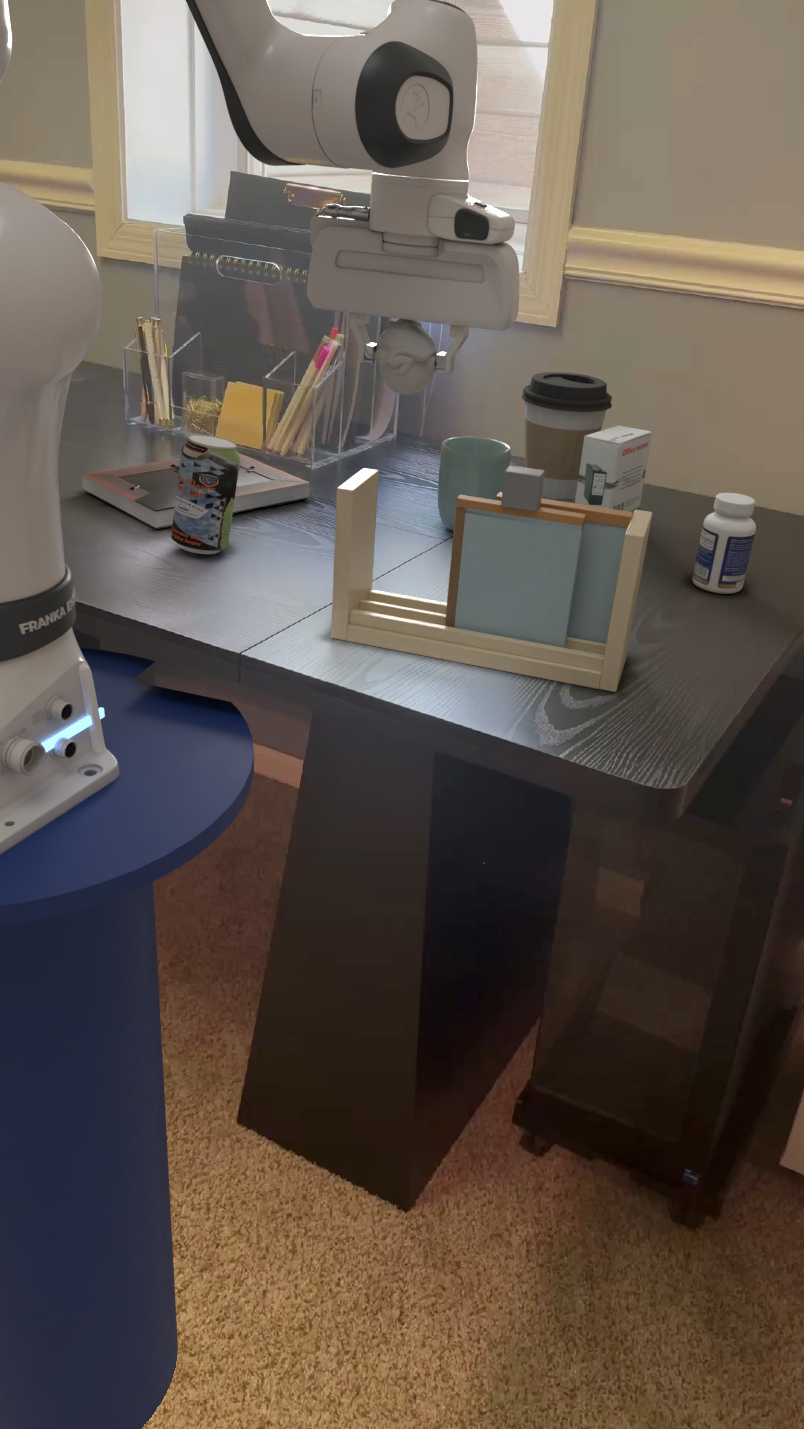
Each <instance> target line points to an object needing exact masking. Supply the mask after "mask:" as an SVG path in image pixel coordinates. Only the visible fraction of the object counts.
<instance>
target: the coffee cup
mask: <svg viewBox="0 0 804 1429" xmlns="http://www.w3.org/2000/svg"><path fill="white" fill-rule="evenodd" d="M607 385H608V383H606V382H605V380H603V379H600V378H598V377H595V376H592V375H591V376H590V375H586V374H582V373H581V374H580V373H575V372H574V373H573V372H563V371H562V372H561V371H545V372H537V373H535V374H533V375H532V376H531V380H530V383H529V384H528V385H526V386H524V387H523V389H522V395H521V396H520V397H521V399H522V400H523V401H524V467H525V468H532V469H539V470H544V471H545V475H544V482H543V490H542V498H543V499H550V500H556V501H563V502H569V503H575V498H576V491H577V485H578V477H579V471H580V464H581V457H582V450H583V443H584V436H586V435H589V434H592V433H595V432H599V431H602V428H603V424H604V421H605V417H606V414H607V413H606V412H607V411H608V410H610V409H611V408H612V406H613V404H612V400H613V396H612V395H611V394H610V393H609V392H607V388H608V386H607Z"/></svg>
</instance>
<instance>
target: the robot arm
mask: <svg viewBox="0 0 804 1429" xmlns="http://www.w3.org/2000/svg"><path fill="white" fill-rule="evenodd" d="M185 2H186V5H187V6H188V10H189V11H190V13H191V15H192V18H193V20H194V22H195V24H196V27H197V29H198V31H199V33H200V36H201V38H202V40H203V42H204V45H205V47H206V49H207V51H208V54H209V56H210V58H211V61H212V62H213V65H214V68H215V71H216V73H217V76H218V79H219V83H220V85H221V90H222V93H223V97H224V102H225V105H226V110H227V114H228V117H229V119H230V122H231V126H232V128H233V130H234V132H235V134H236V136H237V138H238V140H239V141H240V143H241V145H242V146H243V147H244V149H245V150H246V151H247V153H248V154H250V155H251V156H252V157H253V159H255V160H257V161H258V162H259V163H262V164H263V165H267V166H271V167H283V166H284V167H285V166H286V167H287V166H289V167H290V166H307V165H308V166H316V167H326V168H334V169H335V168H336V169H345V170H347V169H354V170H365V171H371V181H370V198H369V199H370V200H369V207H368V206H356V205H353V206H352V205H351V206H350V205H349V206H346V205H341V204H337V203H329V204H326V205H325V207H322V208H320V209H318V210H317V211H315V213H314V214H313V216H312V218H311V219H310V225H309V242H310V247H311V248H312V250H311V255H310V260H309V267H308V274H307V283H306V298H307V300H308V301H309V303H310V304H311V306H312V308H314V309H316V310H324V311H332V312H341V313H349V320H348V321H349V322H348V325H349V327H350V329H351V332H352V334H353V336H354V338H355V340H356V343H357V345H358V346H359V347H358V362H359V364H365V365H366V364H367V365H375V364H377V363H378V361H377V360H376V357H375V355H376V343H377V342H372V340H371V338H370V335H369V333H368V331H367V328H366V325H368V324H369V323H370V322H371V321H370V320H371V316H374V317H381V318H382V317H383V318H391V319H406V320H414V321H418V322H421V323H422V322H424V323H431V324H439V325H447V326H448V325H449V337H450V338H452V339H453V338H454V340H453V341H452V343H451V344H450V345H449V347H448V349H447V351H440V352H439V353H438V352H437V354H436V363H437V365H436V366H435V372H434V373H436V374H441V375H449V376H450V375H452V374H454V371H455V362H456V355H457V354H458V352H459V351H460V349H461V348H462V347H463V345H464V344H465V342H466V341H467V339H468V338H469V335H470V328H471V329H479V330H480V329H481V330H490V331H497V332H503V331H505V330H508V329H509V328H510V327H511V326H512V325H513V324H514V323H515V322H516V320H517V319H518V314H519V303H520V263H519V259H518V254H517V253H516V251H515V249H514V247H513V246H512V245H510V244H509V243H508V242H509V241H510V240H511V239H513V237H514V233H515V227H516V221H515V218H513V216H511V215H510V214H508V213H506V212H504V211H502V210H500V209H499V208H495V207H494V206H491V205H489V204H487V203H485V202H483V201H481V200H478V199H477V198H474V197H472V196H470V194H469V187H470V186H469V185H470V169H469V163H468V150H469V144H470V140H471V137H472V134H473V131H474V128H475V120H476V110H477V96H478V72H479V71H478V69H479V68H478V67H479V66H478V63H479V62H478V60H479V59H478V43H477V42H478V41H477V33H476V28H475V26H476V25H475V22H474V19H473V18H472V17H471V16H470V15H469V14H468V13H467V12H466V11H465V10H464V9H462V8H460V7H459V6H457V5H455V4H452V3H450V2H448V1H445V0H444V1H441V0H394V1H392V2H391V3H390V5H389V7H388V11H387V13H386V14H387V15H386V17H385V18H384V19H383V20H382V21H380V22H379V23H378V24H376V25H375V26H373V27H371V28H369V29H367V30H364V31H361V32H359V35H357V34H356V35H355V34H354V35H351V34H348V35H321V34H320V35H318V34H305V33H301V32H299V31H296V30H294V29H292V28H289V27H288V26H286V25H284V24H283V23H282V22H280V21H279V20H278V19H277V18H276V17H275V16H274V14H273V12H272V10H271V7H270V5H269V2H268V0H185ZM12 50H13V33H12V26H11V17H10V9H9V0H0V85H2V81H3V78H4V76H5V74H6V72H7V69H8V68H9V64H10V61H11V56H12ZM322 214H324V215H325V216H324V215H322ZM103 297H104V296H103V288H102V282H101V277H100V274H99V270H98V268H97V265H96V262H95V260H94V258H93V256H92V253H91V252H90V251H89V248H88V246H87V245H86V244H85V242H84V241H83V240H82V239H81V237H80V236H79V234H78V233H77V232H76V231H75V230H74V229H73V228H72V227H71V226H69V224H67V223H66V222H65V221H64V220H62V218H60V217H59V216H57V214H55V213H54V212H53V211H51V210H50V209H49V208H48V207H46V206H45V205H43V204H42V203H40V202H39V201H38V200H37V199H34V197H32V196H30V195H29V194H27V193H26V192H24V191H22V190H20V189H18V188H16V187H14V186H12V185H10V184H8V183H4V182H0V854H2V853H4V852H5V851H7V850H8V849H10V848H11V847H13V846H14V845H16V844H17V843H19V842H21V841H22V840H24V839H25V838H27V837H28V836H30V835H31V834H33V833H34V832H36V831H38V830H39V829H41V828H42V827H44V826H45V825H47V824H48V823H50V822H51V821H53V820H54V819H56V818H58V817H59V816H61V815H62V814H64V813H65V812H67V811H68V810H70V809H71V808H73V807H75V806H76V805H78V804H79V803H81V802H82V801H84V800H85V799H87V798H88V797H90V796H91V795H93V794H95V793H96V792H98V791H99V790H101V789H102V788H104V787H105V786H107V785H108V784H110V783H112V782H113V781H115V780H116V779H117V778H118V777H119V775H120V772H119V767H118V762H117V760H116V758H115V757H114V756H113V755H112V753H111V752H109V751H108V750H107V748H106V747H105V743H104V737H103V732H102V726H101V720H100V719H102V718H103V717H105V716H104V708H101V707H100V708H99V709H98V704H97V698H96V693H95V688H94V683H93V677H92V673H91V670H90V667H89V665H88V663H87V662H86V660H85V658H84V656H83V654H82V652H81V650H80V648H81V647H80V645H79V643H78V641H77V638H76V635H75V633H74V632H75V631H74V629H73V626H74V624H75V622H76V620H77V611H76V602H77V601H76V600H77V594H76V587H75V586H74V582H73V574H72V570H71V568H70V567H69V566H68V565H67V563H65V552H64V538H63V537H64V536H63V527H62V524H63V523H62V511H61V510H62V509H61V499H60V498H61V496H60V486H59V484H60V483H59V454H60V453H59V452H60V444H61V436H62V428H63V422H64V415H65V409H66V405H67V399H68V394H69V389H70V383H71V379H72V375H73V373H74V371H75V370H76V369H77V368H78V367H79V366H80V364H81V363H82V362H83V361H84V359H86V357H87V355H88V354H89V353H90V351H91V350H92V348H93V346H94V343H95V341H96V338H97V337H98V333H99V330H100V328H101V327H100V326H101V322H102V316H103V306H104V304H103V303H104V302H103V301H104V298H103Z"/></svg>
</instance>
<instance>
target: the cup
mask: <svg viewBox="0 0 804 1429" xmlns="http://www.w3.org/2000/svg"><path fill="white" fill-rule="evenodd" d="M510 463H511V447H510V446H509V445H508V444H506V443H505V442H502V441H500V440H496V439H492V438H487V437H480V436H455V437H451V438H447V439H445V440H444V441H442V443H441V447H440V456H439V465H438V466H439V467H438V479H437V480H438V481H437V509H438V514H439V518H440V521H441V522H442V524H443V525H444V526H445V527H446V528H447V529H448V530H451V531H452V532H454V521H455V509H456V499H457V497H458V496H459V495H466V496H473V497H479V498H485V499H492V500H496V496H497V495H498V494H499V492H502V491H503V482H504V474H505V471H506V469H507V468H508V467H509V466H510Z"/></svg>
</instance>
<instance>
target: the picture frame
mask: <svg viewBox="0 0 804 1429" xmlns="http://www.w3.org/2000/svg"><path fill="white" fill-rule="evenodd" d="M238 454H239V456H240V466H239V473H238V480H237V487H236V494H235V501H234V508H233V515H235V514H238V513H242V512H247V511H252V510H256V509H260V508H267V507H273V506H281V505H285V504H289V503H293V502H299V501H306V500H308V499H309V498H310V489H311V488H310V487H311V482H309V481H308V480H305V479H302V478H300V477H297V476H295V475H293V474H290V473H288V472H285V471H284V470H280V469H278V468H276V467H273V466H272V465H269V464H267V463H264V462H261V461H259V460H257V459H254V458H251V457H249V456H247V455H244V454H242V453H240V452H238ZM179 467H180V458H175V459H168V460H162V461H156V462H155V461H154V462H148V463H143V464H136V465H131V466H123V467H118V468H110V469H106V470H99V471H92V472H86V473H81V482H82V490H84V491H85V492H87V493H88V494H91V495H92V496H94V497H96V498H98V499H100V500H102V501H104V502H105V503H107V504H109V505H111V506H114V508H116V509H118V510H120V511H123V513H126V514H127V515H130V516H131V517H133V518H135V519H137V520H139V521H141V522H143V523H144V524H146V525H148V526H150V527H152V528H154V529H155V530H159V529H166V528H172V524H173V516H174V508H175V500H176V491H177V483H178V475H179Z"/></svg>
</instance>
